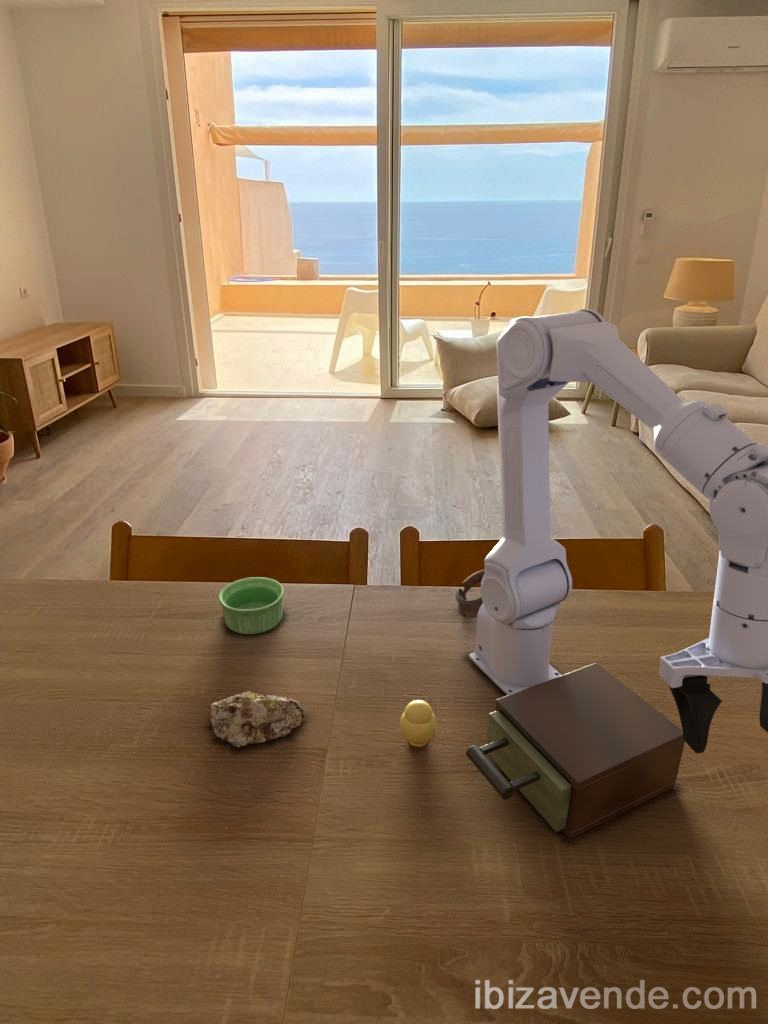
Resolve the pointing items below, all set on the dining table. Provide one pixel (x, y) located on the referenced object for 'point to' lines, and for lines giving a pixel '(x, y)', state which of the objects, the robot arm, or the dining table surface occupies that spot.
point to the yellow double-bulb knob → (418, 723)
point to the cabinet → (598, 742)
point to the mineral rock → (254, 718)
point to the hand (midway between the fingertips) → (732, 738)
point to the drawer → (522, 770)
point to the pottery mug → (472, 606)
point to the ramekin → (252, 604)
